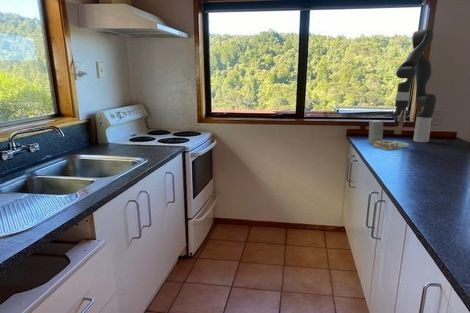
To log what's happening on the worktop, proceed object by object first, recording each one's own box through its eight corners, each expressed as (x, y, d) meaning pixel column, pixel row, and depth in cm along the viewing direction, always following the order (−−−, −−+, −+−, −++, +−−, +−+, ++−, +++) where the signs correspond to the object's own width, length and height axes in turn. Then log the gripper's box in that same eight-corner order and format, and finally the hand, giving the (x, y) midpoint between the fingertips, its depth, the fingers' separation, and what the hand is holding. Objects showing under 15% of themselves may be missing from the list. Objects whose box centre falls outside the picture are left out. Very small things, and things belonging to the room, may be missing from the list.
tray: (394, 144, 219) (394, 141, 218) (408, 147, 210) (408, 144, 210) (384, 146, 214) (385, 142, 214) (398, 149, 206) (398, 145, 205)
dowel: (396, 132, 213) (399, 114, 210) (403, 133, 209) (405, 115, 206) (392, 133, 211) (394, 114, 208) (398, 134, 207) (401, 115, 204)
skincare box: (382, 145, 217) (385, 121, 213) (371, 145, 217) (374, 121, 213) (377, 142, 225) (379, 119, 221) (366, 142, 225) (369, 119, 221)
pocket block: (383, 146, 214) (384, 140, 213) (397, 149, 205) (398, 142, 204) (373, 147, 209) (374, 141, 208) (386, 150, 201) (387, 144, 200)
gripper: (404, 98, 211) (400, 124, 216) (389, 99, 205) (386, 126, 209) (415, 99, 205) (411, 126, 209) (400, 100, 198) (396, 127, 203)
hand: (398, 126), depth 209 cm, fingers closed on dowel, 4 cm apart
